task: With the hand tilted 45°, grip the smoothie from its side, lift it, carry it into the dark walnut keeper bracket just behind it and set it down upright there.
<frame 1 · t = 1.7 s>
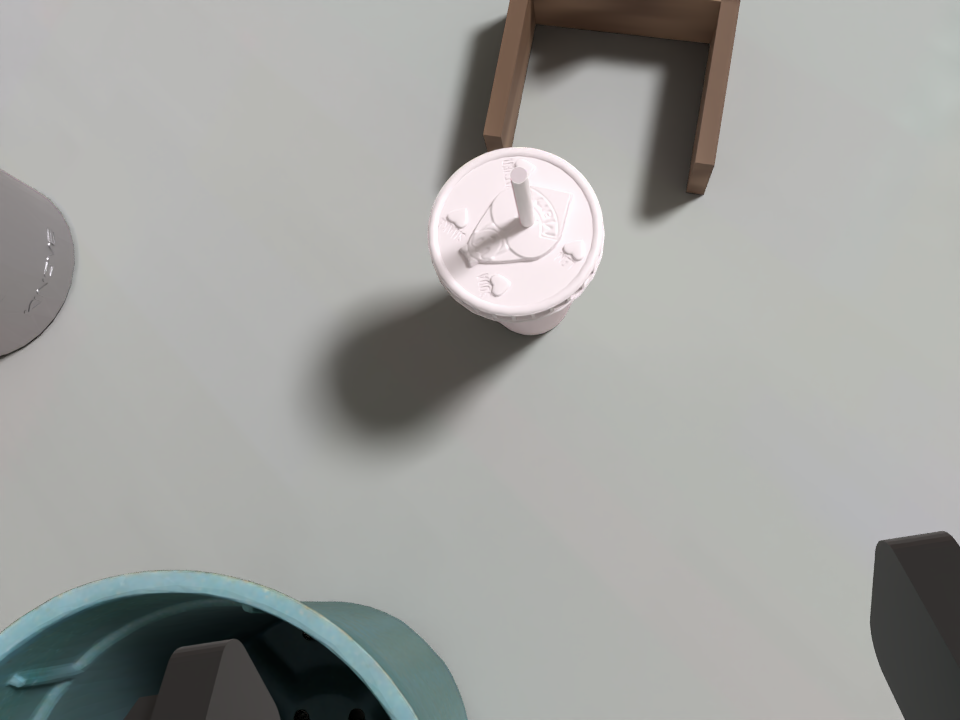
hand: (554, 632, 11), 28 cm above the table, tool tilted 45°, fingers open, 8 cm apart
keeper: (607, 110, 42), on the table
smoothie: (530, 297, 41), on the table
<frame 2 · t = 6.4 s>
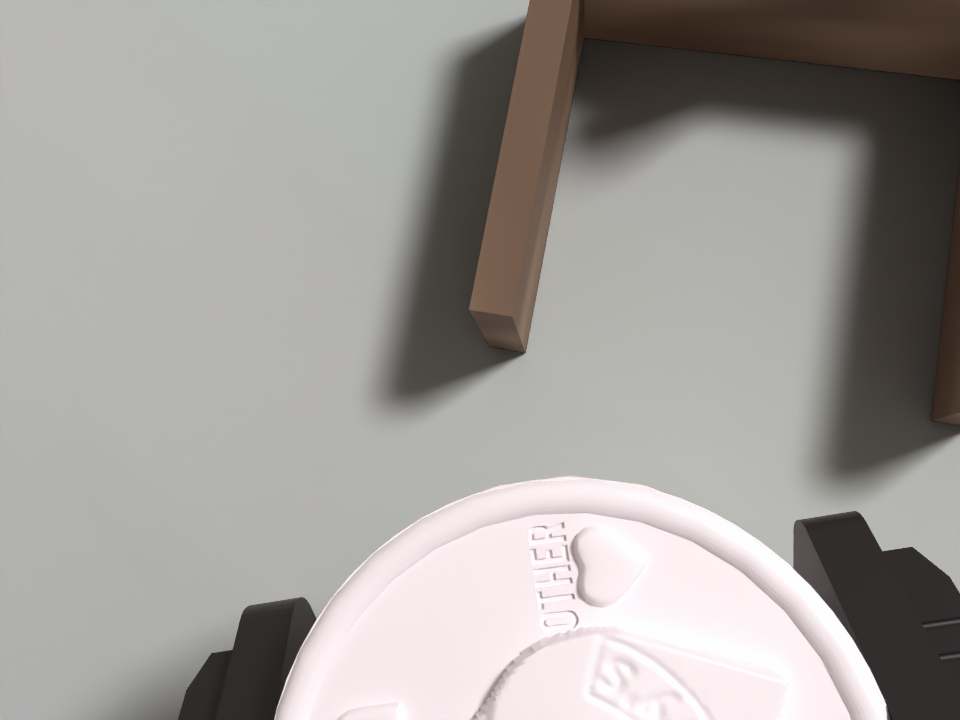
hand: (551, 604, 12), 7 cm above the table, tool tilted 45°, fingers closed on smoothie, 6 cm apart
keeper: (745, 228, 19), on the table
smoothie: (578, 654, 18), on the table, touching gripper
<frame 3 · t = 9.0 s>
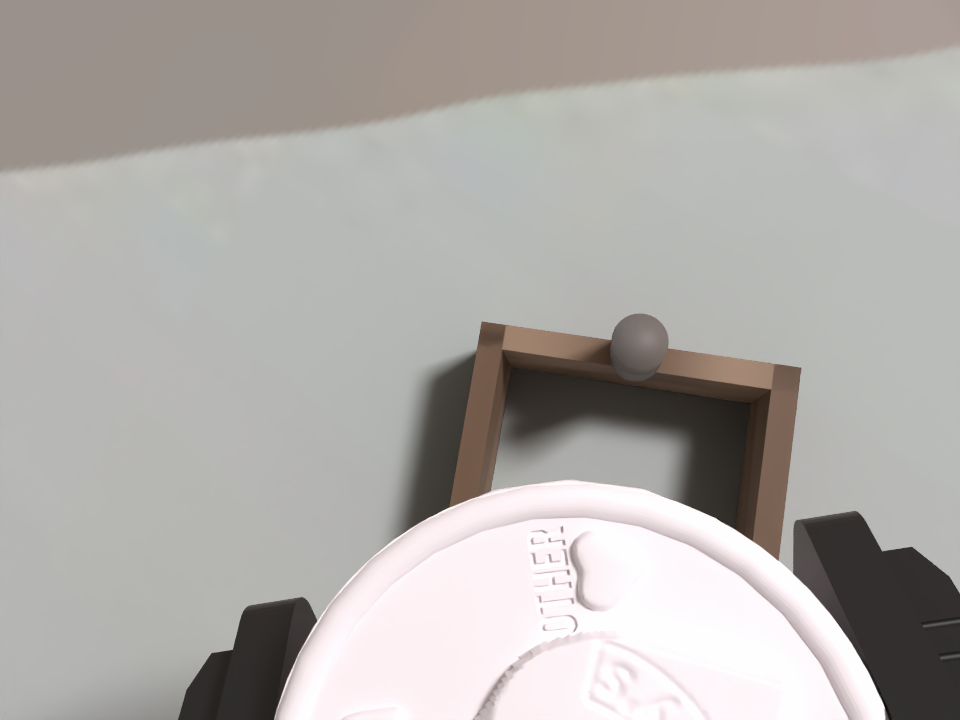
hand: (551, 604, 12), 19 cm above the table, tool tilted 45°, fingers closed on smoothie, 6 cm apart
keeper: (611, 498, 30), on the table
smoothie: (578, 656, 18), point 12 cm above the table, touching gripper
when the fingers open (8 cm above the table, at t = 12.0 s): smoothie drops 1 cm, on the table.
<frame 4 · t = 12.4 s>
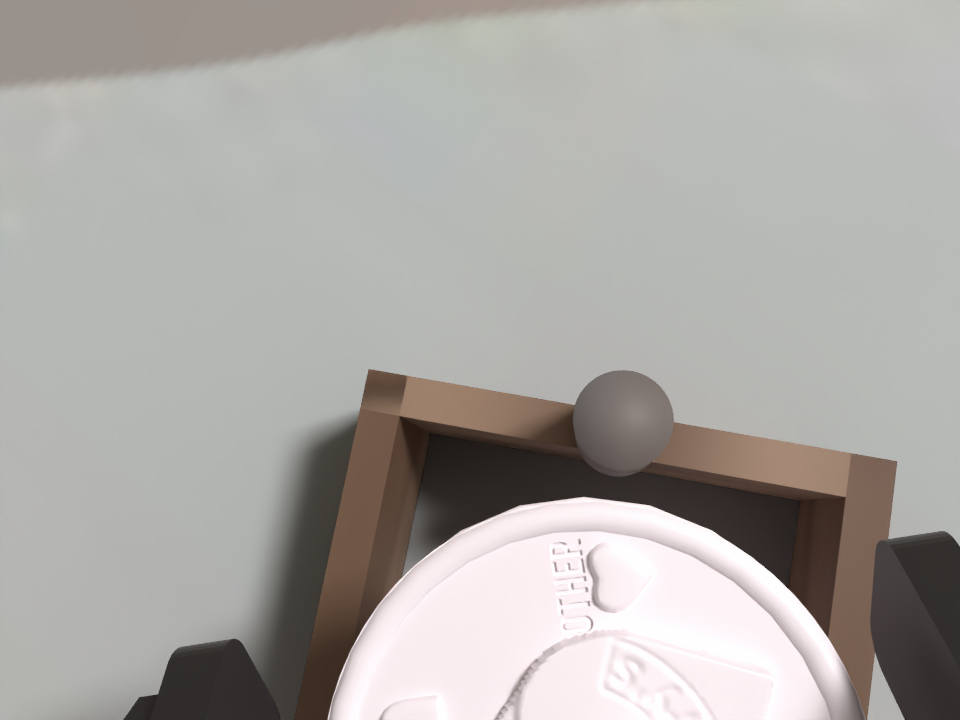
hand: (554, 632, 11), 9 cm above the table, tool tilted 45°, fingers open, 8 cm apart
keeper: (579, 645, 19), on the table
smoothie: (587, 654, 20), on the table
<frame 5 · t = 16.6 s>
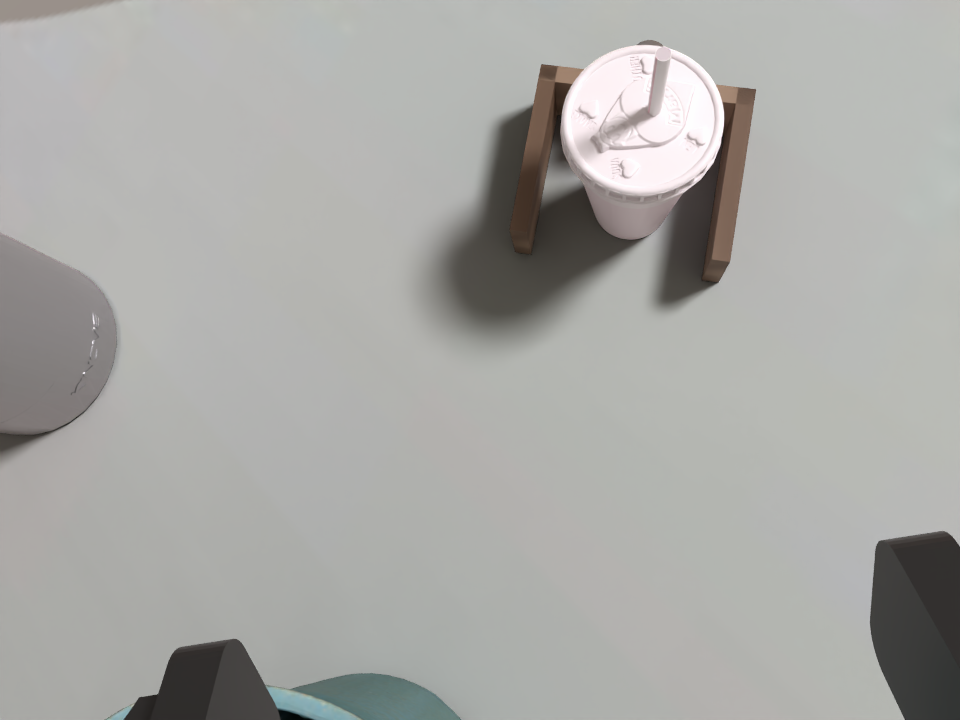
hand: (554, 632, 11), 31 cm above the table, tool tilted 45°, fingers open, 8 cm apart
keeper: (626, 200, 44), on the table
smoothie: (630, 205, 44), on the table
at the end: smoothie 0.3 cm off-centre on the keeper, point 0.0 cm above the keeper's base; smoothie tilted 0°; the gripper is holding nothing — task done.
